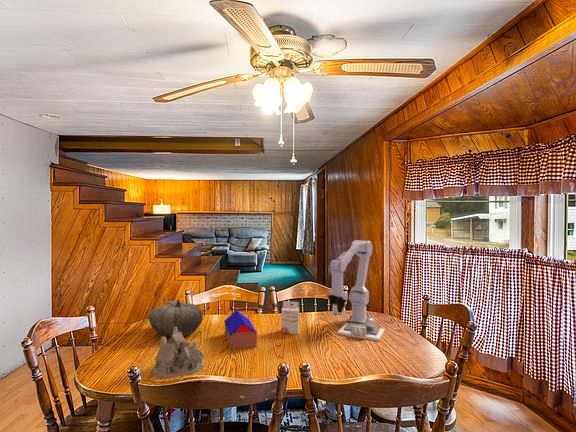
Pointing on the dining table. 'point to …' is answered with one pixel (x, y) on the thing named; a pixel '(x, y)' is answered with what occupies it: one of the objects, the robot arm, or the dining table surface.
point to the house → (237, 326)
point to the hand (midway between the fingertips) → (337, 310)
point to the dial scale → (361, 331)
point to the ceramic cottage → (177, 357)
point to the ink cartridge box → (290, 318)
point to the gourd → (175, 318)
